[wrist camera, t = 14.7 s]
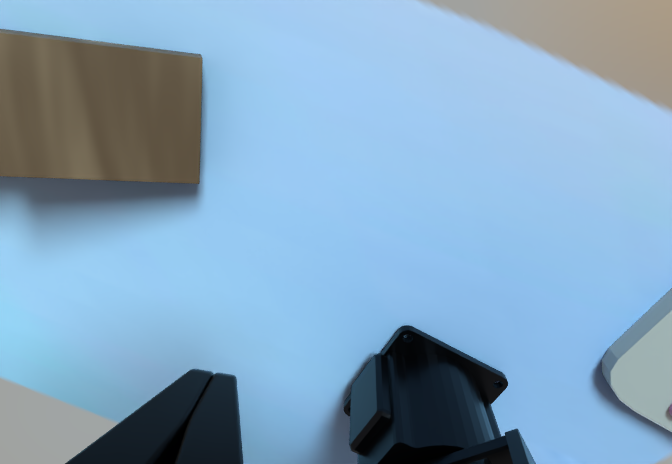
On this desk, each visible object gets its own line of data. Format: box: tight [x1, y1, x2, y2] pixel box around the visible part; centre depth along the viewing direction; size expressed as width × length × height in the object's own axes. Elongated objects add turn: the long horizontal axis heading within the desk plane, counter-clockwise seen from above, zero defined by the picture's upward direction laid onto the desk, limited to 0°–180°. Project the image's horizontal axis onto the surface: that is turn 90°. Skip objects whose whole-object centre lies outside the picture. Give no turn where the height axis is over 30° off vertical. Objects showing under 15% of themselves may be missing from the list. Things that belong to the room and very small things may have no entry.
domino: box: [0, 29, 202, 184], centre depth 18 cm, size 2×5×8 cm
